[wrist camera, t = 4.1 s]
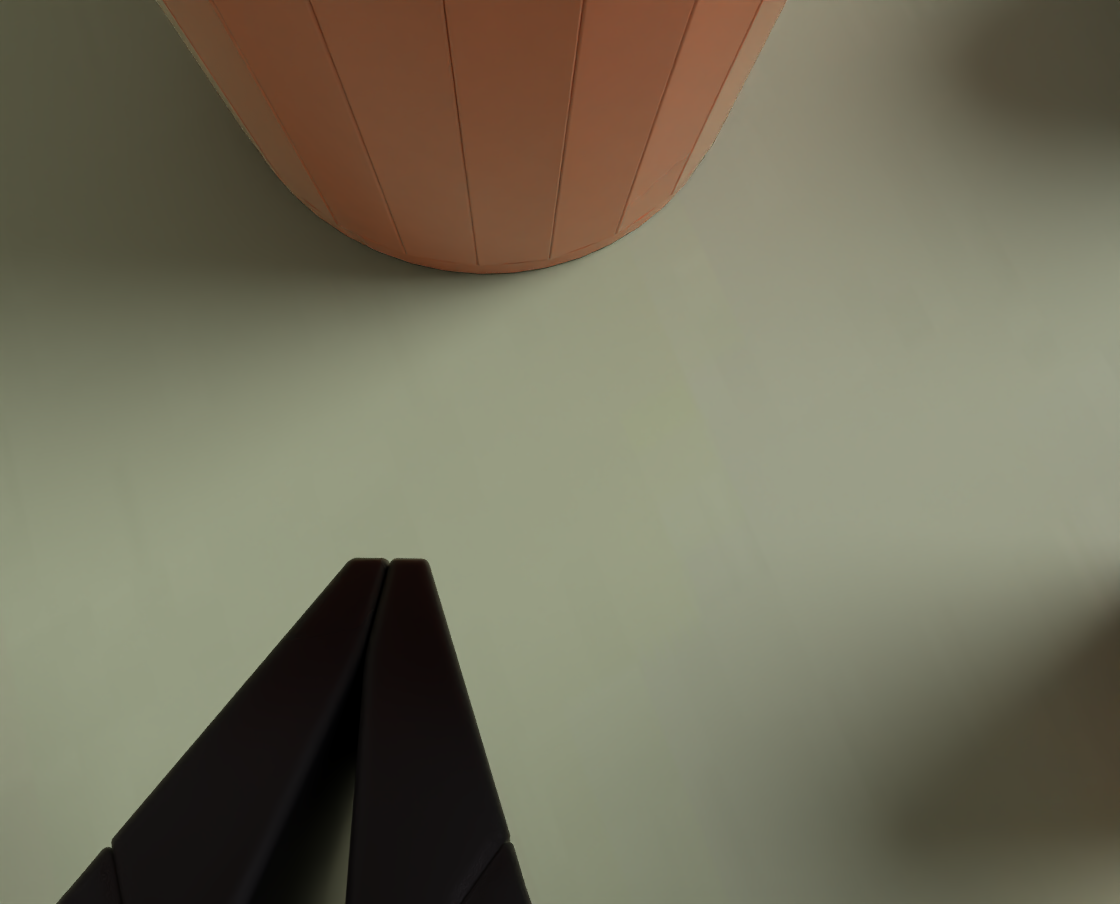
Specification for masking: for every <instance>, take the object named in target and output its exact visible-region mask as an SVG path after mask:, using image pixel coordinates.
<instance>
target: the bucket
mask: <svg viewBox="0 0 1120 904" xmlns="http://www.w3.org/2000/svg"><path fill="white" fill-rule="evenodd" d="M156 1H157V3H158V4H159V6H160V7H161V9H162V10H163V12H164V13H165V15H166V16H167V18H168V19H169V21H170V22H171V24H172V25H173V27H174V28H175V30H176V31H177V33H178V34H179V36H180V37H181V39H182V40H183V42H184V43H185V45H186V46H187V48H188V49H189V51H190V52H191V54H192V55H193V57H194V58H195V60H196V61H197V63H198V64H199V65H200V67H201V68H202V70H203V71H204V73H205V74H206V76H207V77H208V79H209V80H210V82H211V83H212V85H213V86H214V88H215V89H216V91H217V92H218V94H219V95H220V97H221V98H222V100H223V101H224V103H225V104H226V106H227V107H228V109H229V110H230V112H231V113H232V115H233V116H234V118H235V119H236V121H237V122H238V124H239V125H240V127H241V128H242V129H243V131H244V132H245V133H246V135H247V136H248V137H249V139H250V140H251V142H252V143H253V144H254V146H255V147H256V148H257V150H258V151H259V152H260V154H261V155H262V157H263V158H264V160H265V161H266V163H267V164H268V166H269V167H270V168H271V169H272V171H273V172H274V173H275V174H276V175H277V176H278V178H279V179H280V180H281V181H282V182H283V183H284V185H285V186H286V187H287V188H288V189H289V190H290V192H291V193H292V194H293V195H295V196H296V197H297V198H298V199H299V200H300V201H301V202H302V203H304V204H305V205H306V206H307V207H308V208H309V209H310V210H311V211H313V212H314V213H315V214H316V215H317V216H318V217H320V218H321V219H323V220H324V221H326V222H327V223H329V224H330V225H332V226H333V227H335V228H336V229H337V230H339V231H340V232H342V233H343V234H345V235H346V236H348V237H350V238H352V239H354V240H356V241H358V242H360V243H362V244H364V245H366V246H368V247H370V248H372V249H374V250H376V251H378V252H381V253H384V254H387V255H389V256H392V257H395V258H398V259H401V260H403V261H406V262H409V263H413V264H417V265H422V266H426V267H431V268H435V269H440V270H444V271H455V272H466V273H476V274H487V273H515V272H521V271H527V270H533V269H540V268H546V267H550V266H554V265H557V264H560V263H564V262H567V261H571V260H574V259H577V258H581V257H583V256H585V255H587V254H590V253H592V252H594V251H596V250H599V249H601V248H603V247H605V246H608V245H610V244H612V243H613V242H615V241H617V240H618V239H620V238H622V237H623V236H625V235H627V234H628V233H630V232H631V231H633V230H635V229H636V228H638V227H639V226H641V225H642V224H643V223H644V222H646V221H647V220H648V219H649V218H651V217H652V216H653V215H654V214H655V213H657V212H658V211H659V210H660V209H662V208H663V207H664V206H665V205H666V204H667V203H668V202H669V201H670V200H671V198H672V197H673V196H674V195H675V194H676V193H677V192H678V191H679V190H680V189H681V188H682V187H683V186H684V185H685V183H686V182H687V181H688V179H689V178H690V176H691V175H692V174H693V172H694V171H695V169H696V168H697V166H698V165H699V164H700V162H701V161H702V159H703V158H704V156H705V154H706V152H707V151H708V150H709V149H710V148H711V146H712V144H713V143H714V141H715V139H716V137H717V135H718V133H719V131H720V129H721V127H722V125H723V124H724V122H725V120H726V118H727V116H728V114H729V112H730V110H731V108H732V106H733V104H734V102H735V100H736V98H737V96H738V94H739V92H740V90H741V88H742V87H743V85H744V83H745V81H746V79H747V77H748V75H749V73H750V71H751V69H752V67H753V65H754V63H755V61H756V59H757V57H758V55H759V53H760V51H761V50H762V48H763V46H764V44H765V42H766V40H767V38H768V36H769V34H770V32H771V30H772V28H773V26H774V24H775V22H776V20H777V18H778V16H779V14H780V13H781V11H782V9H783V7H784V5H785V3H786V1H787V0H156Z"/></svg>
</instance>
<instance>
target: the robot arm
mask: <svg viewBox="0 0 1120 904" xmlns="http://www.w3.org/2000/svg"><path fill="white" fill-rule="evenodd" d="M111 844H112V848H110V847H106V848H104V849H103V850H102V851H101V852H100V853H99V854H98V856H97V857H96V858H95V859H94V860H93V862H92V863H91V864H90V865H89V866H88V867H87V869H86V870H85V871H84V872H83V873H82V875H81V876H80V877H79V878H78V879H77V880H76V882H75V883H74V884H73V885H72V886H71V888H70V889H69V890H68V891H67V892H66V893H65V894H64V895H63V897H62V898H61V899H60V900H59V901H58V902H57V903H56V904H531V901H530V898H529V895H528V892H527V889H526V886H525V883H524V879H523V876H522V873H521V869H520V866H519V862H518V859H517V856H516V852H515V849H514V846H513V844H512V843H510V834H509V830H508V827H507V824H506V820H505V817H504V813H503V810H502V807H501V803H500V800H499V797H498V793H497V790H496V787H495V783H494V780H493V776H492V773H491V770H490V766H489V763H488V760H487V756H486V753H485V750H484V746H483V743H482V740H481V736H480V733H479V729H478V726H477V723H476V719H475V716H474V713H473V709H472V706H471V703H470V699H469V696H468V693H467V689H466V686H465V682H464V679H463V676H462V672H461V669H460V666H459V662H458V659H457V656H456V652H455V649H454V645H453V642H452V639H451V635H450V632H449V629H448V625H447V622H446V619H445V615H444V612H443V609H442V605H441V602H440V598H439V595H438V592H437V588H436V585H435V582H434V578H433V575H432V572H431V568H430V565H429V563H428V561H427V560H425V559H414V558H396V559H393V560H392V561H391V562H390V563H389V561H388V560H386V559H384V558H354V559H352V560H350V561H349V562H347V563H346V565H345V566H344V567H343V568H342V569H341V570H340V572H339V573H338V574H337V575H336V576H335V578H334V579H333V580H332V581H331V582H330V583H329V585H328V586H327V587H326V588H325V589H324V590H323V592H322V593H321V594H320V595H319V596H318V598H317V599H316V600H315V601H314V602H313V603H312V605H311V606H310V607H309V608H308V609H307V610H306V612H305V613H304V614H303V615H302V616H301V618H300V619H299V620H298V621H297V622H296V623H295V625H294V626H293V627H292V628H291V629H290V630H289V632H288V633H287V634H286V635H285V636H284V638H283V639H282V640H281V641H280V642H279V643H278V645H277V646H276V647H275V648H274V649H273V650H272V652H271V653H270V654H269V655H268V656H267V658H266V659H265V660H264V661H263V662H262V663H261V665H260V666H259V667H258V668H257V669H256V670H255V672H254V673H253V674H252V675H251V676H250V678H249V679H248V680H247V681H246V682H245V683H244V685H243V686H242V687H241V688H240V689H239V690H238V692H237V693H236V694H235V695H234V696H233V698H232V699H231V700H230V701H229V702H228V703H227V705H226V706H225V707H224V708H223V709H222V710H221V712H220V713H219V714H218V715H217V716H216V718H215V719H214V720H213V721H212V722H211V723H210V725H209V726H208V727H207V728H206V729H205V730H204V732H203V733H202V734H201V735H200V736H199V738H198V739H197V740H196V741H195V742H194V743H193V745H192V746H191V747H190V748H189V749H188V750H187V752H186V753H185V754H184V755H183V756H182V758H181V759H180V760H179V761H178V762H177V763H176V765H175V766H174V767H173V768H172V769H171V770H170V772H169V773H168V774H167V775H166V776H165V778H164V779H163V780H162V781H161V782H160V783H159V785H158V786H157V787H156V788H155V789H154V790H153V792H152V793H151V794H150V795H149V796H148V798H147V799H146V800H145V801H144V802H143V803H142V805H141V806H140V807H139V808H138V809H137V810H136V812H135V813H134V814H133V815H132V816H131V817H130V819H129V820H128V821H127V822H126V823H125V825H124V826H123V827H122V828H121V829H120V830H119V832H118V833H117V834H116V835H115V836H114V837H113V839H112V842H111Z"/></svg>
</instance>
